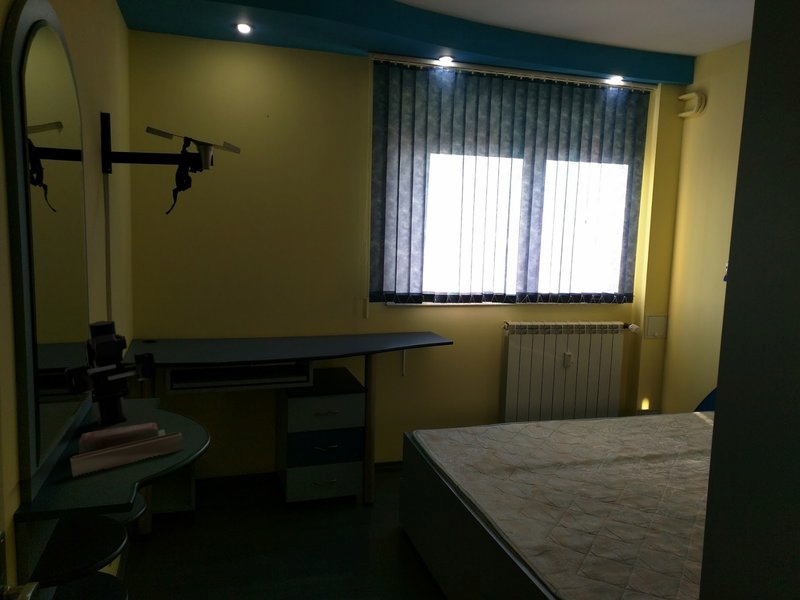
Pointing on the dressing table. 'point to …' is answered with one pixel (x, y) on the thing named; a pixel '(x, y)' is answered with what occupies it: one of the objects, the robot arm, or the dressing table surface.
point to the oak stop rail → (126, 453)
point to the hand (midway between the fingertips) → (116, 381)
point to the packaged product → (117, 437)
